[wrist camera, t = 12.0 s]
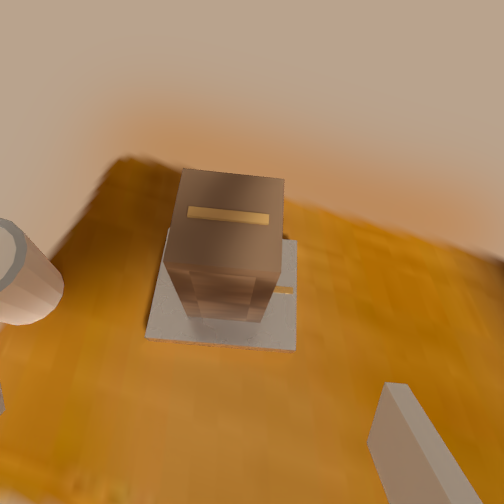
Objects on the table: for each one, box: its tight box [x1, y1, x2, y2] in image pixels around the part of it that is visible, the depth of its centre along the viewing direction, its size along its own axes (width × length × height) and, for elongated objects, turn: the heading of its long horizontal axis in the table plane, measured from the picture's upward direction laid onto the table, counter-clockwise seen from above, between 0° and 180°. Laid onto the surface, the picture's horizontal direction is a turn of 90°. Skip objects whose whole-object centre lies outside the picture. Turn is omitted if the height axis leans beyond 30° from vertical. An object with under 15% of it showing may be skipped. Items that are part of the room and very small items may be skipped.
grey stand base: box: [145, 228, 297, 353], centre depth 25 cm, size 12×10×6 cm
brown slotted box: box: [163, 168, 284, 323], centre depth 22 cm, size 6×6×11 cm
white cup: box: [0, 218, 64, 325], centre depth 24 cm, size 7×7×7 cm
